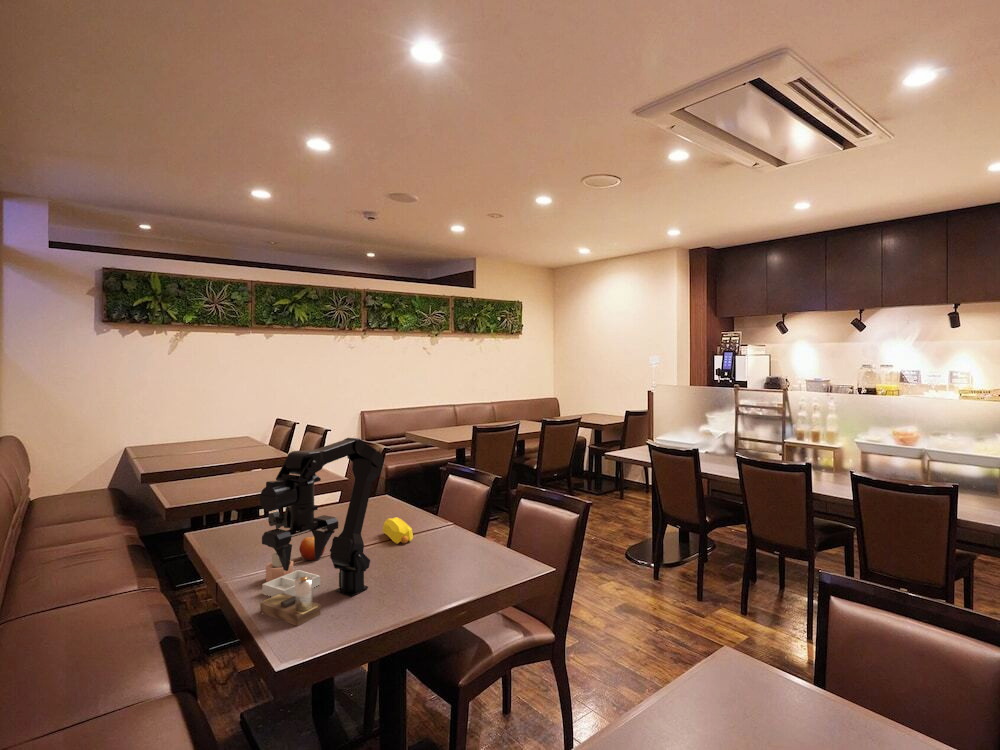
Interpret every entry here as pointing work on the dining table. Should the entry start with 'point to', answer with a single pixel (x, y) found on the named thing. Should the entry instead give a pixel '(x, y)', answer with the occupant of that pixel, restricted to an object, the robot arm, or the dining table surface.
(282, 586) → the trough tray
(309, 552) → the fruit
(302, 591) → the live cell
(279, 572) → the cup
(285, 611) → the cradle
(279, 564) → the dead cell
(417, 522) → the dining table surface
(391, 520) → the yellow lump
